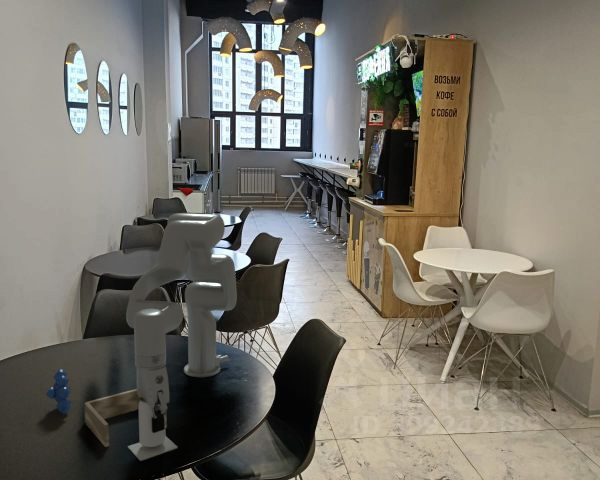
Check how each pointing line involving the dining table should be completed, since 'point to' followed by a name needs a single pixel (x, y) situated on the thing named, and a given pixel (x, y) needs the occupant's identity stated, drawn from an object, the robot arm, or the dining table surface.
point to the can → (148, 427)
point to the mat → (151, 449)
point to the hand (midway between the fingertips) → (152, 424)
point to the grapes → (60, 392)
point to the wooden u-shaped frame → (109, 412)
